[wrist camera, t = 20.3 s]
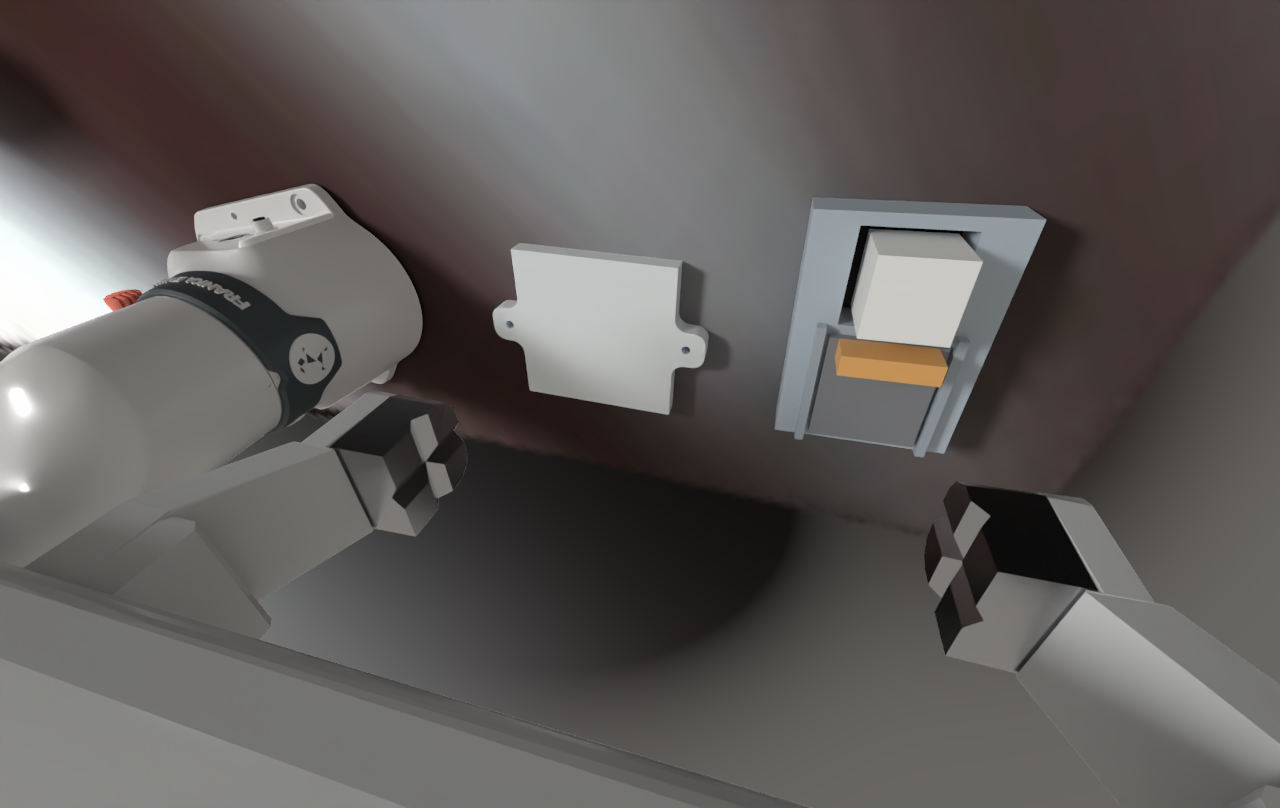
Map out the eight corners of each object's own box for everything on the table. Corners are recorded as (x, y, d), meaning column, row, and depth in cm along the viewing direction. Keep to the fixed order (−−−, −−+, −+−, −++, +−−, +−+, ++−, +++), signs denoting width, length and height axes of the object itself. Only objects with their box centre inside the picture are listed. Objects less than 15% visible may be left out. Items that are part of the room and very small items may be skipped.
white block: (848, 296, 35) (856, 338, 29) (866, 221, 32) (878, 254, 27) (927, 302, 33) (950, 347, 28) (953, 226, 31) (983, 261, 25)
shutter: (808, 427, 38) (808, 452, 36) (829, 333, 33) (831, 355, 31) (910, 442, 36) (918, 469, 34) (947, 345, 32) (959, 368, 29)
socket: (776, 407, 41) (774, 435, 38) (812, 197, 32) (813, 212, 29) (935, 429, 39) (946, 460, 36) (1026, 206, 29) (1052, 223, 26)
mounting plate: (514, 375, 47) (504, 386, 46) (493, 238, 40) (480, 245, 38) (701, 407, 44) (697, 420, 42) (717, 262, 36) (713, 272, 35)
